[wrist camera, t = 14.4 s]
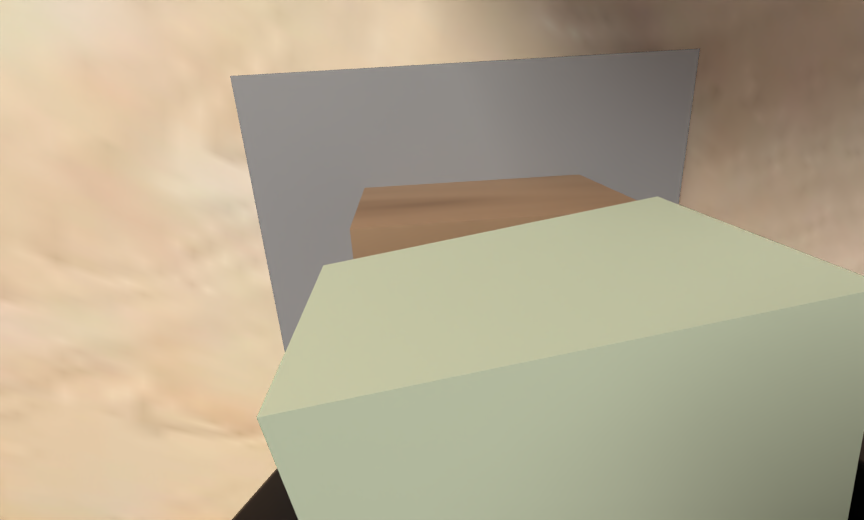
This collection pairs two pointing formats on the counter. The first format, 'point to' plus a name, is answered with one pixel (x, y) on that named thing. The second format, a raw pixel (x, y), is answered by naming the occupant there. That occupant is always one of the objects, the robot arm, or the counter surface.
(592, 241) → the sage block
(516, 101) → the plate
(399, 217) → the walnut block
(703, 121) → the counter surface
